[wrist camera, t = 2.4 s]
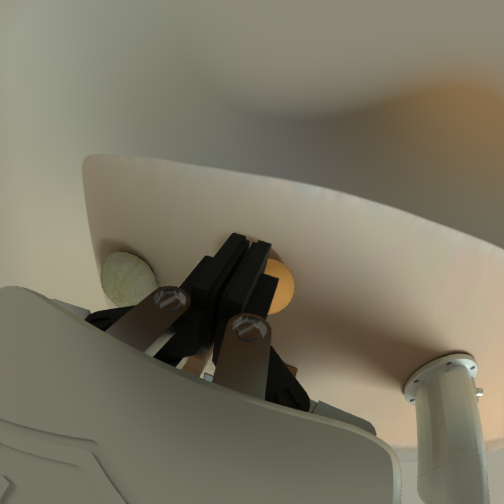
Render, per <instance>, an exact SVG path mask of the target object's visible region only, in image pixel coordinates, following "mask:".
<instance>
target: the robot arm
mask: <svg viewBox="0 0 504 504" xmlns="http://www.w3.org/2000/svg"><path fill="white" fill-rule="evenodd" d="M249 243H250V241H248V240H246V236H244V235H240V234H237V233H232V235H231V236H230V237H229V238H228V240H227V241H226V242H225V243H224V245H223V246H222V247H221V249H220V250H219V251H218V252H217V254H216V255H215V256H214V257H210V256H205V257H204V258H203V259H202V260H201V261H200V263H199V264H198V265H197V266H196V268H195V269H194V270H193V271H192V272H191V274H190V275H189V276H188V277H187V278H186V280H185V281H184V282H183V283H182V285H181V286H180V287H179V288H178V287H174V286H164V287H160V288H158V289H156V290H154V291H153V292H152V293H150V294H149V295H148V296H147V297H146V298H144V299H143V300H142V301H141V302H140V303H138V304H137V305H132V306H126V307H120V308H114V309H108V310H103V311H97V312H94V313H92V314H91V312H90V310H87V309H84V308H80V307H77V306H74V305H71V304H68V303H65V302H62V301H59V300H56V299H49V298H47V297H46V296H44V295H41V294H39V293H37V292H35V291H33V290H29V289H27V288H23V287H18V286H5V287H2V288H0V504H401V496H402V481H401V469H400V463H399V460H398V457H397V455H396V453H395V452H394V450H393V449H392V448H391V447H390V446H389V445H388V444H387V443H385V442H384V441H383V440H381V439H380V438H378V437H376V431H375V428H374V427H373V425H372V424H371V423H370V422H368V421H366V420H364V419H362V418H359V417H357V416H354V415H352V414H350V413H347V412H345V411H342V410H340V409H338V408H335V407H333V406H331V405H329V404H326V403H324V402H322V401H320V400H319V401H318V402H315V401H313V400H311V399H309V396H308V395H307V393H306V391H305V390H304V389H303V387H302V386H301V385H300V383H299V382H298V381H297V380H296V378H295V377H294V376H293V374H292V373H291V372H290V370H289V369H288V368H287V366H286V365H285V364H284V362H283V361H282V359H281V358H280V357H279V355H278V354H277V353H276V351H275V350H274V349H273V347H272V346H271V345H270V344H271V334H272V333H271V327H270V325H269V323H268V322H267V321H266V319H267V316H268V313H269V310H270V307H271V304H272V301H273V298H274V295H275V291H276V288H277V285H278V282H279V278H277V277H274V276H270V275H267V274H264V272H265V268H266V265H267V261H268V257H269V253H270V249H271V244H270V243H267V242H264V241H260V240H259V241H258V242H257V243H255V242H253V243H252V245H251V246H250V248H249ZM248 248H249V250H248ZM213 343H214V347H213V358H212V361H213V363H214V365H215V367H216V368H215V372H214V376H213V379H212V382H210V381H207V380H204V379H202V378H199V377H197V376H194V375H192V374H190V373H187V372H185V371H182V370H181V369H182V367H183V366H184V365H185V364H186V362H187V361H188V358H189V356H193V355H196V354H197V355H200V356H202V354H203V353H204V351H205V349H206V350H208V351H209V350H210V349H211V347H212V345H213ZM477 372H478V366H477V363H476V360H475V359H474V358H473V357H472V356H470V355H467V354H452V355H447V356H444V357H441V358H438V359H436V360H434V361H432V362H430V363H428V364H426V365H425V366H423V367H421V368H420V369H419V370H418V371H416V372H415V373H414V374H413V375H412V376H411V377H410V378H409V380H408V381H407V383H406V385H405V389H404V393H405V398H406V400H407V401H408V402H409V403H411V404H413V405H415V407H416V420H417V441H418V476H417V477H418V478H417V491H418V494H419V497H420V498H421V500H422V501H423V502H424V503H425V504H490V499H489V490H488V477H487V466H486V454H485V445H484V438H483V431H482V425H481V419H480V414H479V409H478V397H477V396H479V397H480V396H481V395H482V394H483V389H482V388H476V386H475V382H474V379H475V378H476V375H477Z"/></svg>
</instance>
